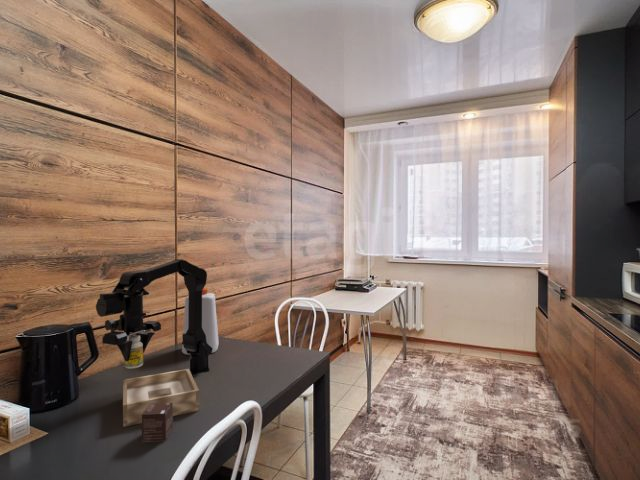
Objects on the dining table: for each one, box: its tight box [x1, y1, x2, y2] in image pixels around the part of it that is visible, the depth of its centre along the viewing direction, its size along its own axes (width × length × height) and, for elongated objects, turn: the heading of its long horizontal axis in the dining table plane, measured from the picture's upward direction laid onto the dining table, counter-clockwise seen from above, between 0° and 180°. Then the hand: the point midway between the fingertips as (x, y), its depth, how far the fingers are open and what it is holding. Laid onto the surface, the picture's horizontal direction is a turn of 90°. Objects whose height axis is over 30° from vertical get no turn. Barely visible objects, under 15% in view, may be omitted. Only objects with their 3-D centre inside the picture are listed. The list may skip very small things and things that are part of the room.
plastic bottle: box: [181, 287, 220, 356], centre depth 166 cm, size 15×15×28 cm
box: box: [141, 403, 174, 443], centre depth 95 cm, size 6×6×7 cm
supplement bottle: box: [124, 335, 144, 369], centre depth 119 cm, size 5×5×10 cm
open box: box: [122, 368, 200, 428], centre depth 113 cm, size 20×20×6 cm
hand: (134, 358), depth 119 cm, fingers closed on supplement bottle, 5 cm apart
